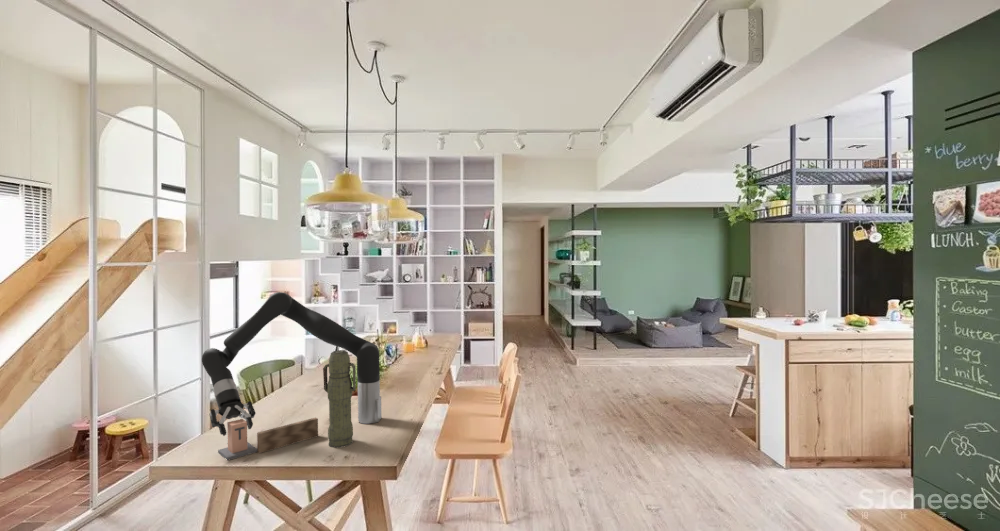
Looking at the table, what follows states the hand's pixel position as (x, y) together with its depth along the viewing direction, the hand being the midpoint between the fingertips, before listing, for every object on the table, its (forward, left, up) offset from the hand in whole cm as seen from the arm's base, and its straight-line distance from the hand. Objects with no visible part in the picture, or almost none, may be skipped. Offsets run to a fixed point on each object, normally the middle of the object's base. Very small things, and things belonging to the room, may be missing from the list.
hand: (237, 431), depth 172 cm
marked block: (0, -1, -7) cm, 7 cm away
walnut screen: (-15, -8, -8) cm, 19 cm away
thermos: (-35, -8, -8) cm, 36 cm away
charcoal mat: (0, 0, -8) cm, 8 cm away
